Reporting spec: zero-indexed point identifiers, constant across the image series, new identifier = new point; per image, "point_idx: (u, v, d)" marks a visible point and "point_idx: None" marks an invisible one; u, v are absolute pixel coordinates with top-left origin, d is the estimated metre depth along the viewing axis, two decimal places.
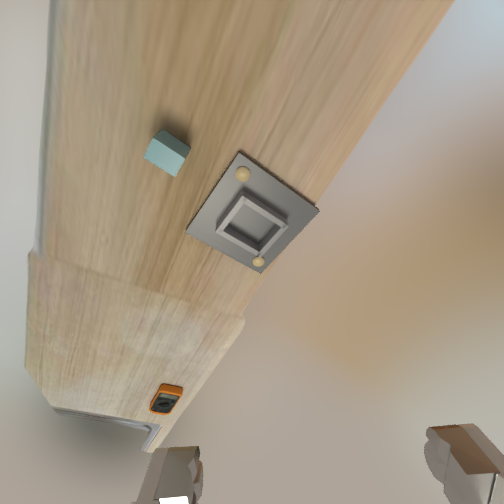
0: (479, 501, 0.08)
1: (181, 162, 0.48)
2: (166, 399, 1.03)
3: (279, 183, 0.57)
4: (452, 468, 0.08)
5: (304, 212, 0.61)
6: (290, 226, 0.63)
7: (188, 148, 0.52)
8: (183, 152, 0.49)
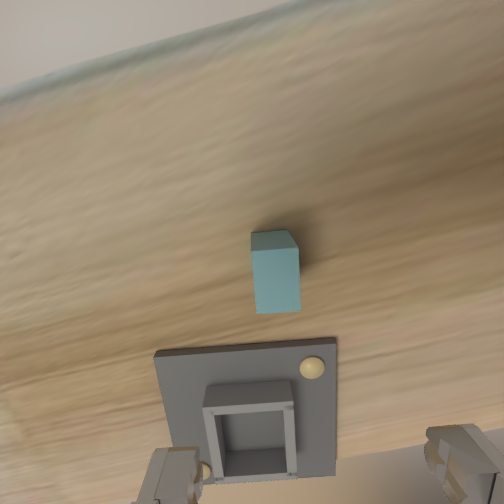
0: (479, 501, 0.08)
1: (290, 309, 0.25)
2: None
3: (333, 412, 0.35)
4: (452, 468, 0.08)
5: (319, 463, 0.38)
6: None
7: None
8: None
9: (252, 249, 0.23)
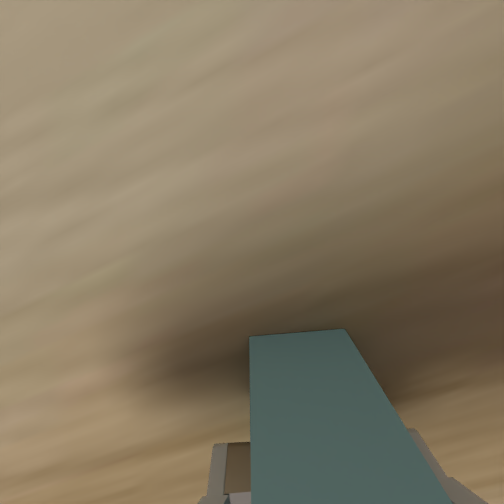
0: None
1: None
2: None
3: None
4: None
5: None
6: None
7: None
8: None
9: None
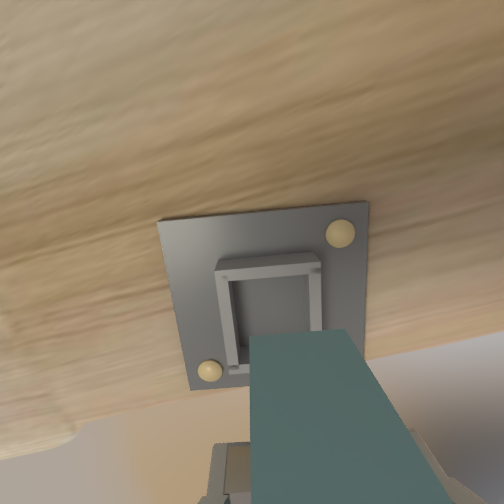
0: None
1: None
2: None
3: (363, 294, 0.31)
4: None
5: None
6: None
7: None
8: None
9: None
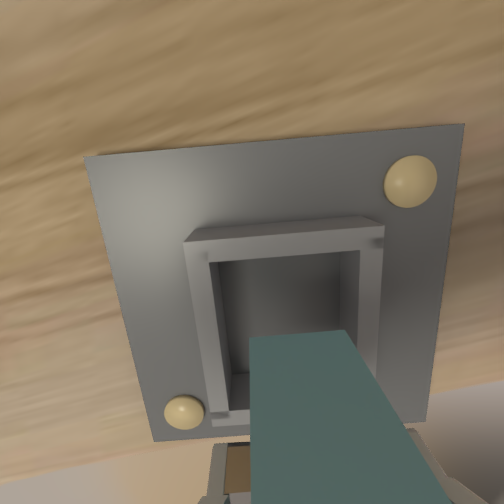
0: None
1: None
2: None
3: (438, 290, 0.19)
4: None
5: (399, 397, 0.21)
6: None
7: None
8: None
9: None
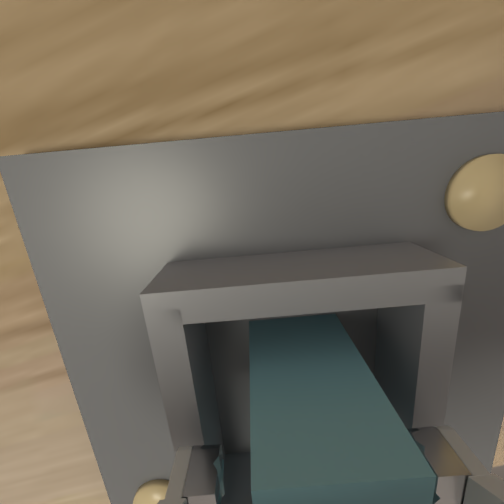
0: (452, 503, 0.08)
1: None
2: None
3: None
4: None
5: None
6: None
7: None
8: None
9: (255, 465, 0.06)
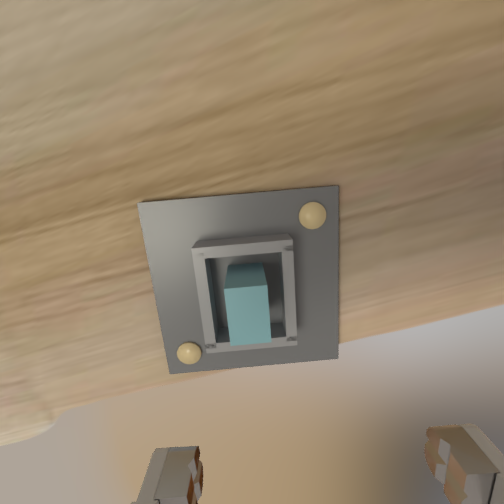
0: (479, 501, 0.08)
1: (261, 341, 0.26)
2: None
3: (336, 275, 0.32)
4: (452, 468, 0.08)
5: (320, 342, 0.35)
6: None
7: None
8: None
9: (225, 286, 0.25)
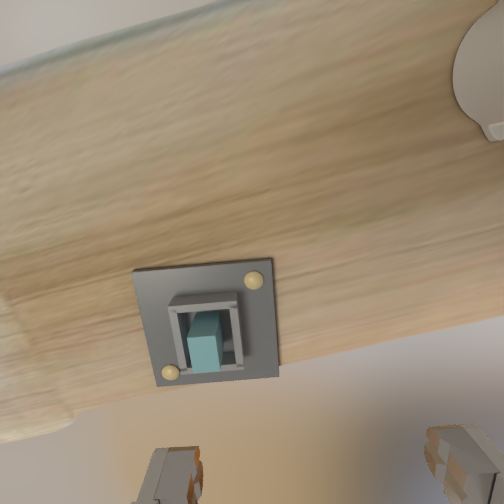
0: (479, 501, 0.08)
1: (213, 370, 0.40)
2: None
3: (273, 319, 0.45)
4: (452, 468, 0.08)
5: (265, 365, 0.48)
6: None
7: (223, 344, 0.45)
8: (221, 357, 0.42)
9: (188, 335, 0.39)
